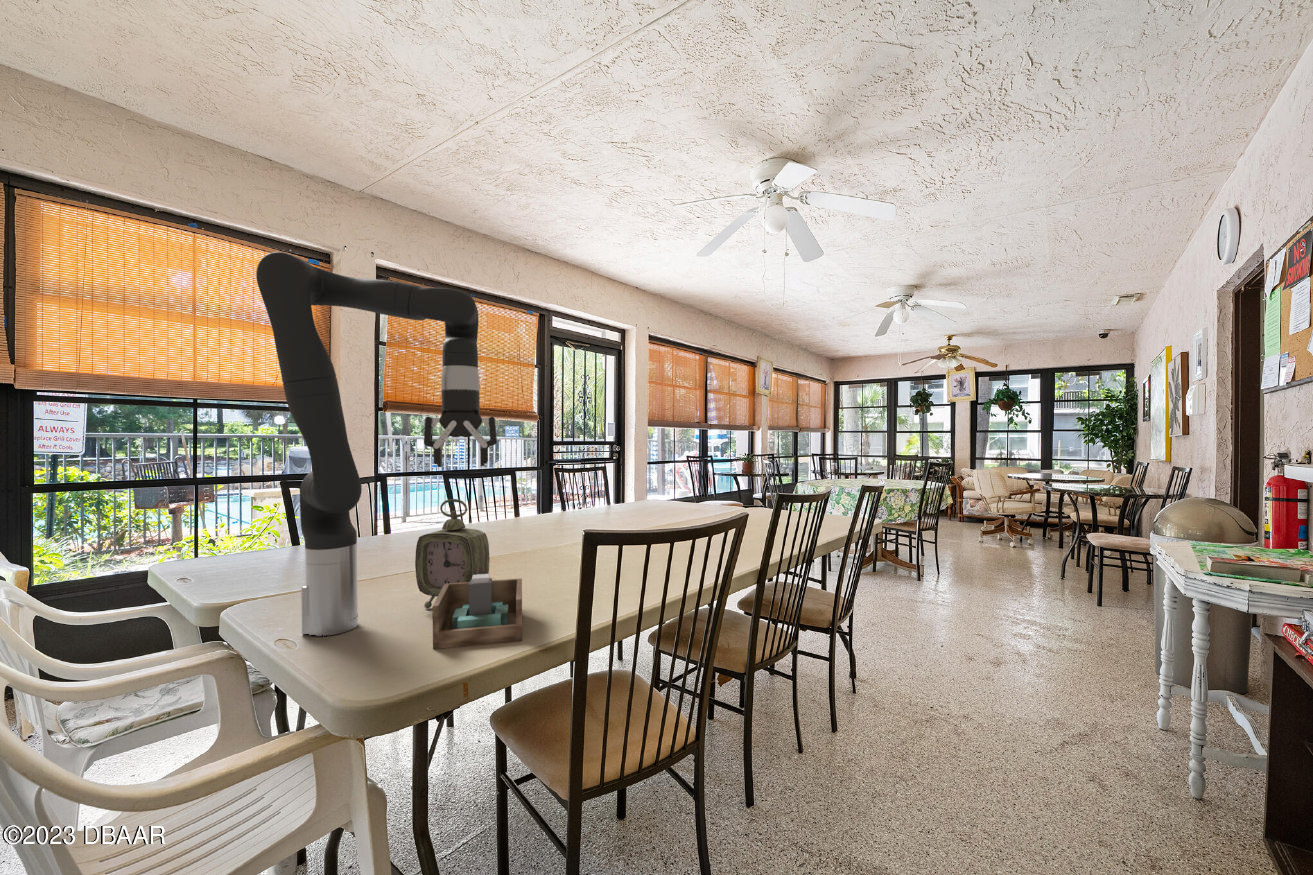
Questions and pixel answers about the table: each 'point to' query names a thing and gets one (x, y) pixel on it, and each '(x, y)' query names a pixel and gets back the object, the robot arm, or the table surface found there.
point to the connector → (480, 595)
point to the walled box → (477, 616)
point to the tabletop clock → (450, 555)
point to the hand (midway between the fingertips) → (461, 466)
